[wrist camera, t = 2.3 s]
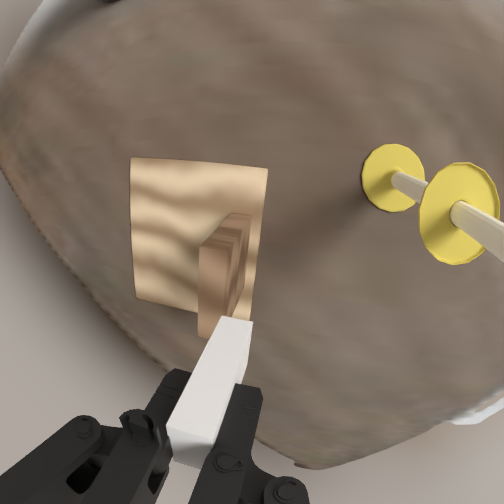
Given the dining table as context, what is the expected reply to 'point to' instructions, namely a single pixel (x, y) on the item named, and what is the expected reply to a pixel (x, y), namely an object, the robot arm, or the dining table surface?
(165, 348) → the dining table surface
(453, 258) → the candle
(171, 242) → the light wooden board
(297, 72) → the dining table surface
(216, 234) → the panel
